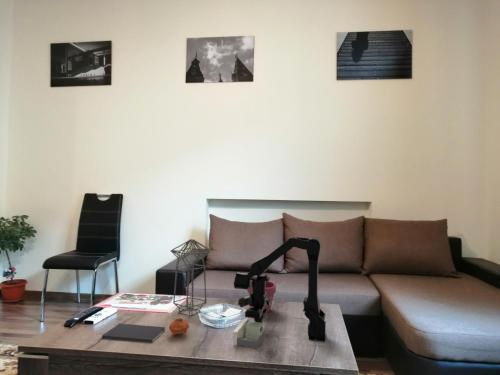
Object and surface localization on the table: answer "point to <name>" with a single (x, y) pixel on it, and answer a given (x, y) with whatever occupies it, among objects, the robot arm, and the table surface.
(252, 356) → the table surface
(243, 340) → the cleat board
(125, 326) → the notebook
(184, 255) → the geometric lantern
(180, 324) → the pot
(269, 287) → the plant pot
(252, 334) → the cabinet block
